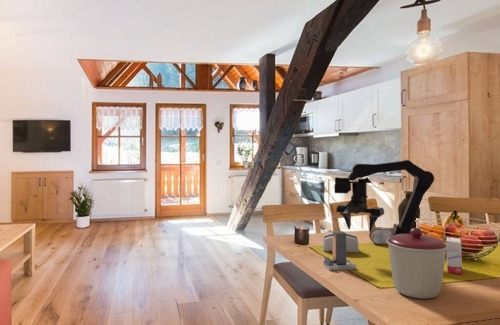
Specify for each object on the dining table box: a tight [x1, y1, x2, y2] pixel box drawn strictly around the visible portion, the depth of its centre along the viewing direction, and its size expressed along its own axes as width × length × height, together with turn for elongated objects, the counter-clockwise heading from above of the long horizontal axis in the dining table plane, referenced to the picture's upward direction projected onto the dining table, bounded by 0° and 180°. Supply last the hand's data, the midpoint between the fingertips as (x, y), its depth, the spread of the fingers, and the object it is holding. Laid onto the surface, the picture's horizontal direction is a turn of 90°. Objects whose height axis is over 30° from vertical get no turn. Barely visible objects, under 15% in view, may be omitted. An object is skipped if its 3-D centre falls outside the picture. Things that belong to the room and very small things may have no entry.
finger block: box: [332, 230, 347, 265], centre depth 136 cm, size 4×4×13 cm
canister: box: [386, 227, 449, 300], centre depth 111 cm, size 18×18×21 cm
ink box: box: [445, 237, 463, 275], centre depth 131 cm, size 9×5×12 cm, turn 150°
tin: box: [368, 226, 393, 246], centre depth 170 cm, size 15×3×8 cm, turn 76°
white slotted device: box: [321, 232, 360, 253], centre depth 159 cm, size 17×5×10 cm, turn 81°
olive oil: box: [397, 190, 421, 229], centre depth 181 cm, size 11×11×25 cm
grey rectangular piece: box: [323, 256, 357, 272], centre depth 137 cm, size 11×6×4 cm, turn 98°
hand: (359, 230), depth 144 cm, fingers open, 9 cm apart
